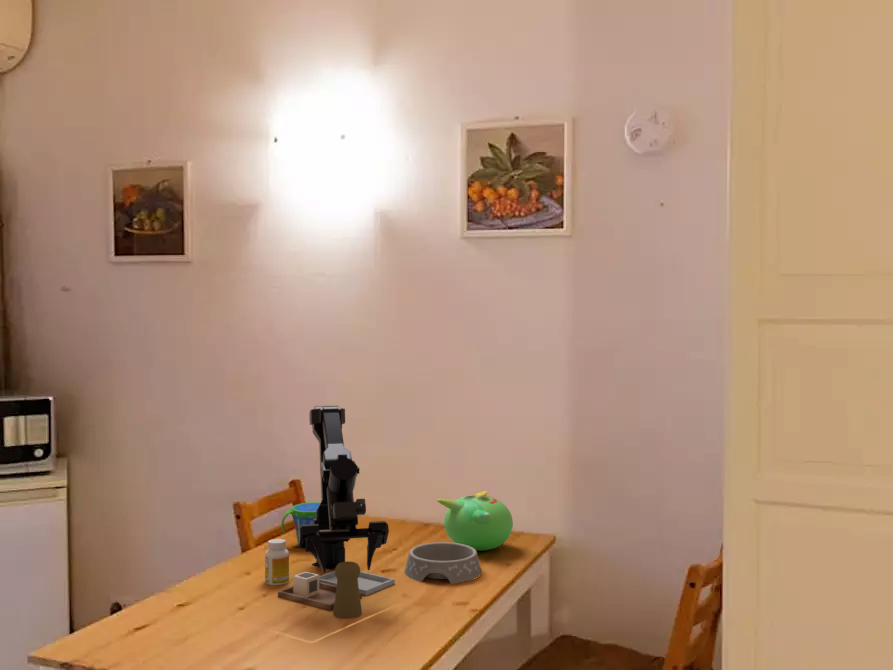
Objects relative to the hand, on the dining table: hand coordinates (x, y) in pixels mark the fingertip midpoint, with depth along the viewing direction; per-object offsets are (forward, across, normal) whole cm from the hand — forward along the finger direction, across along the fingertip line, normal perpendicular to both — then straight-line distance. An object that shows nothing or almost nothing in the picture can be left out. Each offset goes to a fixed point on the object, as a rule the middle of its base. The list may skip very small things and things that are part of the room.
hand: (346, 570), depth 200 cm
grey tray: (-7, +4, +19) cm, 21 cm away
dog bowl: (-10, +26, +24) cm, 36 cm away
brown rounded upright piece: (+7, 0, +6) cm, 9 cm away
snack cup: (-32, -3, +44) cm, 54 cm away
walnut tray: (-1, -5, +14) cm, 14 cm away
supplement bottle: (-10, -13, +23) cm, 28 cm away
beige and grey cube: (-3, -7, +15) cm, 17 cm away
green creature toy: (-23, +38, +36) cm, 57 cm away
